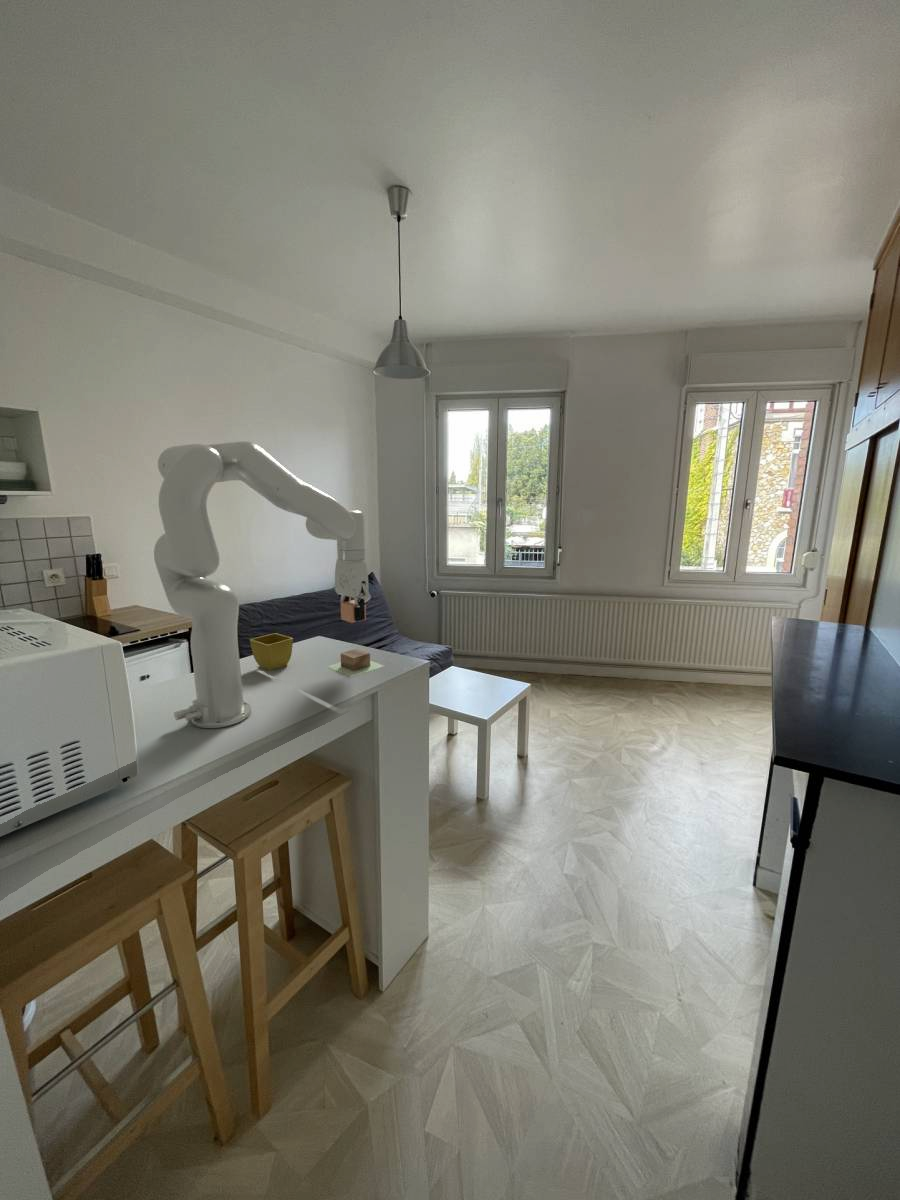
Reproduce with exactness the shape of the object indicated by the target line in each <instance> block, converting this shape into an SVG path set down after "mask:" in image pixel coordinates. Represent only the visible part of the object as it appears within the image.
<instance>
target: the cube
mask: <svg viewBox="0 0 900 1200" xmlns="http://www.w3.org/2000/svg"><path fill="white" fill-rule="evenodd" d="M354 607H356V605H355V600H354V599H353V600H352V599H351V600H350V601H346V602H340V620H342V621H343V622H344V621H345V622H348V623H351V624H353V623H357V622H362V621H366V620H367V605H366V606H365V619H364V620H360V621H355V613H354Z"/></svg>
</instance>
